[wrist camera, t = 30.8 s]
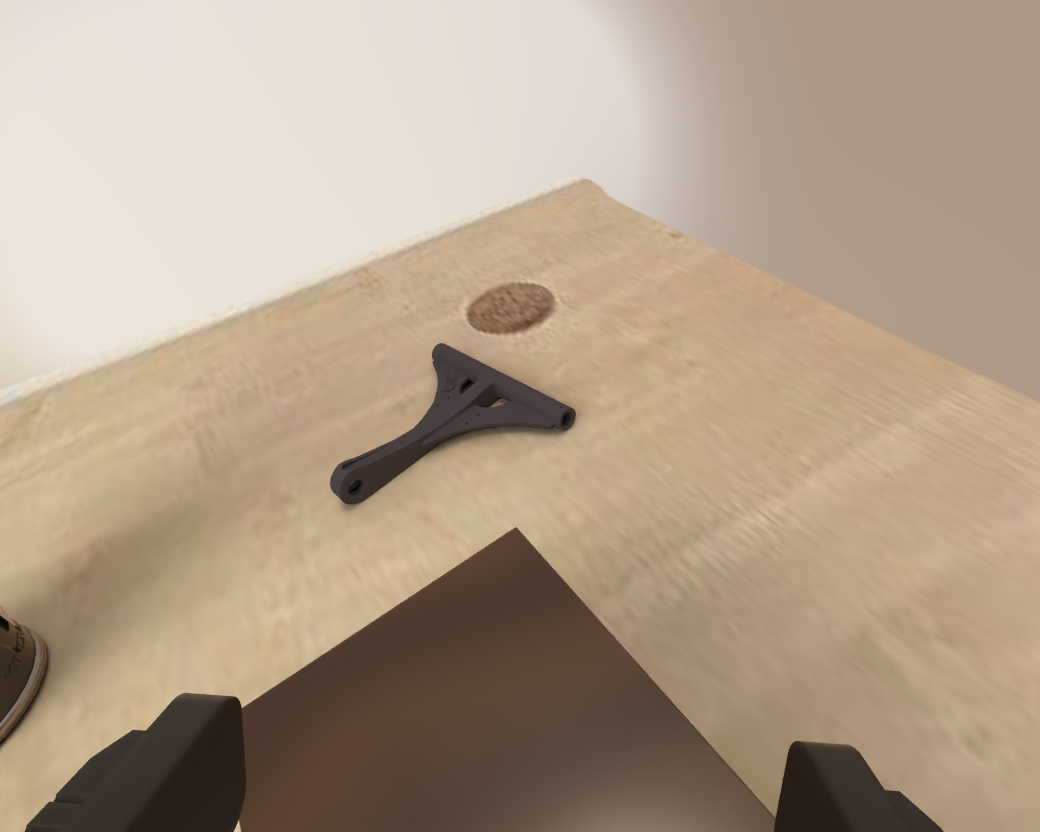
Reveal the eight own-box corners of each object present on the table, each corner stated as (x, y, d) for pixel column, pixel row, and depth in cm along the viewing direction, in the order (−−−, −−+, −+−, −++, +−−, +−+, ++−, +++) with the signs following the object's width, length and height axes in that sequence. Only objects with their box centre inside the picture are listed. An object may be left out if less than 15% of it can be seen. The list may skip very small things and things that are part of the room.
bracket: (295, 459, 42) (278, 432, 41) (449, 355, 49) (441, 327, 47) (406, 568, 34) (391, 539, 32) (577, 422, 40) (572, 392, 38)
